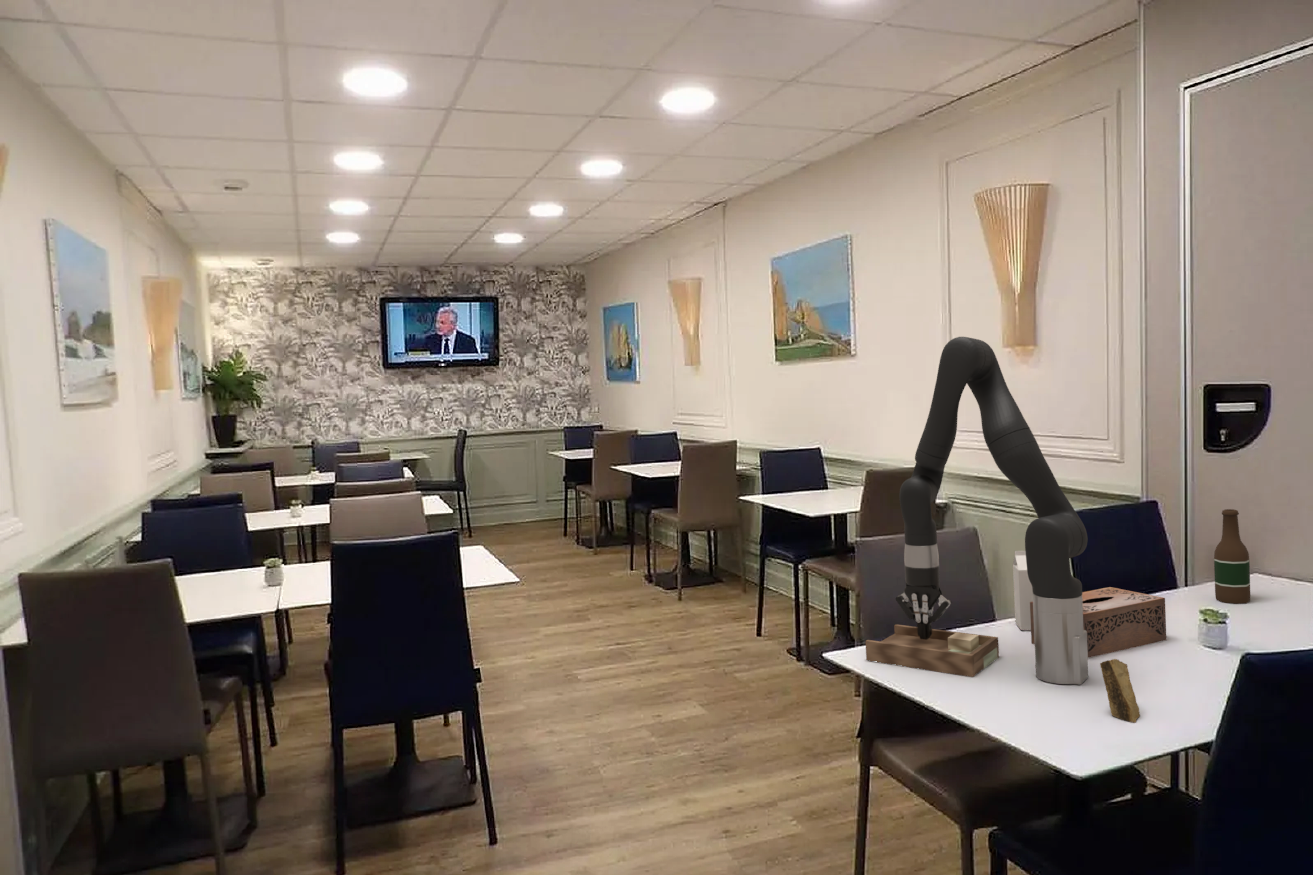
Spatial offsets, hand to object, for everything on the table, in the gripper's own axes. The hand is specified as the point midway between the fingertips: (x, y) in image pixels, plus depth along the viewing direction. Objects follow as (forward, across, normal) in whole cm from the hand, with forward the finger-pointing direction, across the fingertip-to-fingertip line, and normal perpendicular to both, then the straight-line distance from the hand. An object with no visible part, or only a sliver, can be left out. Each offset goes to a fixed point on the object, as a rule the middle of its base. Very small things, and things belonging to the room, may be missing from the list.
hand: (924, 638), depth 202 cm
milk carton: (+4, -14, -32) cm, 36 cm away
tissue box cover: (+4, -30, -26) cm, 40 cm away
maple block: (+1, -9, 0) cm, 9 cm away
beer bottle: (+3, -50, -80) cm, 95 cm away
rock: (+3, -45, +16) cm, 48 cm away
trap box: (+3, -3, +4) cm, 6 cm away
